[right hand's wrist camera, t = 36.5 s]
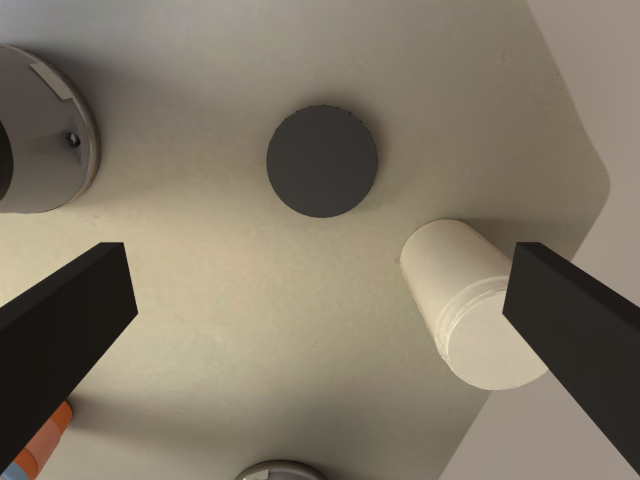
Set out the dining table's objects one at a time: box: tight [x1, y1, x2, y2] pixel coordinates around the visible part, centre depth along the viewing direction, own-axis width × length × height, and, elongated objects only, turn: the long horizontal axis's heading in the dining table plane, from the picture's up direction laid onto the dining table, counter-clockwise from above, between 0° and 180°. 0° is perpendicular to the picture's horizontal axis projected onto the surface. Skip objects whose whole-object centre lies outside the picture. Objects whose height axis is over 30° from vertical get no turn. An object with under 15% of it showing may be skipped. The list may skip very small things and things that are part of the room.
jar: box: [400, 219, 549, 390], centre depth 33 cm, size 9×9×15 cm
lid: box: [267, 105, 378, 218], centre depth 36 cm, size 11×11×2 cm
